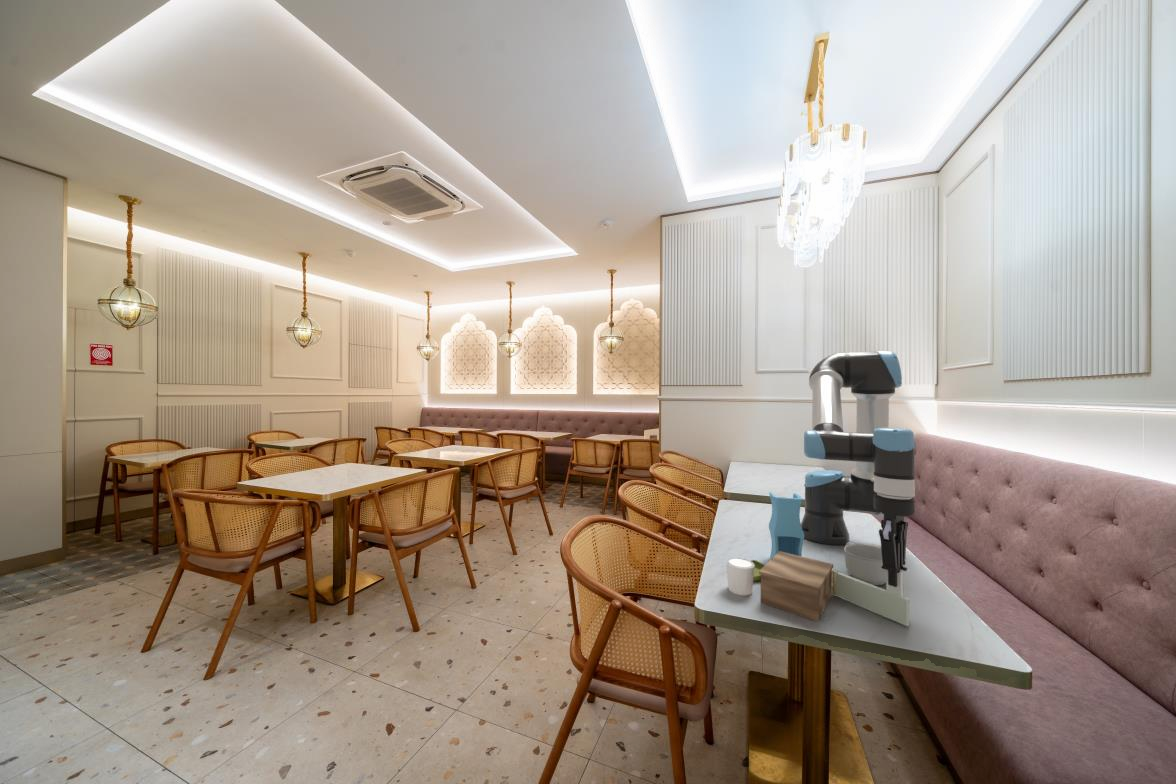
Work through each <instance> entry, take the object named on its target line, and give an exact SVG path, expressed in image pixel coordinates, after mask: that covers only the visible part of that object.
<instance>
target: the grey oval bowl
mask: <svg viewBox="0 0 1176 784" xmlns="http://www.w3.org/2000/svg"><path fill="white" fill-rule="evenodd" d="M843 550H844V560H845V567H846V571H847V572H848V574H849V575H850V576H851V577H853V578H856V579H858V580H861V581H864V582H866V583H869V584H872V585H874V586H882V585H884V584H885V585H886V569H882V568H881V566H883V562H882V551H881V546H880V547H879V546H875V545H870V544H864V543H860V544H859V543H854V542H852V541H849V542H848V543H846V544H845V545H844V548H843Z"/></svg>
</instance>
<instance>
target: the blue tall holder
mask: <svg viewBox="0 0 1176 784" xmlns="http://www.w3.org/2000/svg"><path fill="white" fill-rule="evenodd" d="M768 494H769V497H770V502H771V508H772V509H771V516H770V520H769V523H768V530H769V533H770V539H771V549H770V550H771V551H770V557H769V559H770V560H771V559H772V558H773V557H774V556H775V555H776V554H777V553H778V552H779V551H781V552H785V553H789V554H793V555H798V556H802V557H803V554H802V553H803V552H802V551H803V545H804V541H805V538H804V533H803V530H802V527H801V518H800V513H801V507H802V503H803V498H802V497H801V496H800V495H799V494H798V492H793V495H792V497H780V496H776V495H775V494H774V492H772V491H768Z"/></svg>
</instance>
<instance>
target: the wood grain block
mask: <svg viewBox="0 0 1176 784" xmlns="http://www.w3.org/2000/svg"><path fill="white" fill-rule="evenodd" d="M764 565H765V566H764V567H763V568H762V569H761V570H760V571H759V574H761V580H760V604H765V605H767V606H770V607H773V608H776V609H779V610H782V611H784V612H788V613H790V614H794V615H797V616H800V617H803V618H806V619H808V620H809V619H810V620H812V621H815V622H819V620H820V618H821V617H822V615H823V612H824V610H825V609H826V607H827V605H828V603H829V602H830V599H831V597H832V595H833V594H832V571H833V568H834V563H830V562H827V561H826V562H825V561H821V560H818V559H813V558H809V557H805V556H803V555H802V556H798V555H793V554H789V553H785V552H781V551H779V552H778V553H777V554H776V555H775V556H774V557H773V558H772V559H770V560H769V561H767V563H766V564H764Z"/></svg>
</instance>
